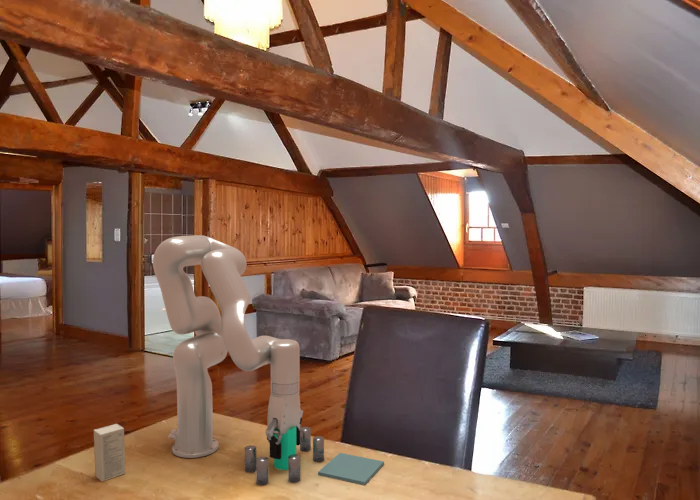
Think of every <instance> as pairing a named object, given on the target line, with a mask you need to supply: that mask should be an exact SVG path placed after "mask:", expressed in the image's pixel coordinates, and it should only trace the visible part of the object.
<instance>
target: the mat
mask: <svg viewBox="0 0 700 500" xmlns="http://www.w3.org/2000/svg"><path fill="white" fill-rule="evenodd" d="M384 465H385V461H383V460H379V459H373V458H368V457H363V456H359V455H353V454H349V453H348V454H347V453H343V452H339V453H338V454H337V455H335V456H334V457H333V458H332V459H331V460H329V462H327V464H325V465H324V466H323V467H322V468H321V469H319V470H318V472H317V475H318V476H320V477H326V478H329V479H334V480H339V481H345V482H347V483H353V484H356V485H363V486H366V484H367V483H368V482H370V480H371V479H372V478H373V477H374V476H375V475H376V473H378V471H379V470H380V469H381V468H382V467H383V466H384Z"/></svg>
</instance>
